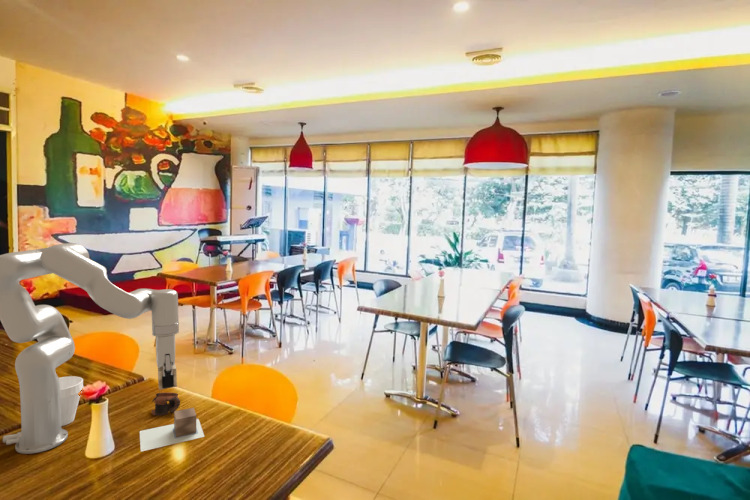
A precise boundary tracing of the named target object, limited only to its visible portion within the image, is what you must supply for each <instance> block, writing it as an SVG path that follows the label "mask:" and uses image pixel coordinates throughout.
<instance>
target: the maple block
mask: <svg viewBox="0 0 750 500" xmlns="http://www.w3.org/2000/svg"><path fill="white" fill-rule="evenodd" d="M170 365H171V364H170ZM164 366H166V365H164ZM162 367H163V366H162ZM162 367H160V368H158V367H157V377H158V378H157V379H158V380H157V381H158V390H166V389H171V388H177V386H178V381H177V376H178V375H177V367H176V363H175V364H174V365H173V366H172V368H173V375H174V386H173V387H169V388H162V376H163V368H162ZM165 369H166V368H165Z"/></svg>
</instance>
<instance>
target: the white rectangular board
mask: <svg viewBox="0 0 750 500" xmlns="http://www.w3.org/2000/svg"><path fill="white" fill-rule="evenodd" d="M204 437H205V434H204V431H203V427H202V424H201V422H200V420H199V418H196V433H193V434H189V435H185V436H180V437H176V434H175V429H174V423H172V424H166V425H161V426H158V427H152V428H147V429H143V430H140V431H139V444H140V452H144V451H149V450H153V449H154V450H155V449H158V448H162V447H163V448H164V447H165V446H171V445H175V444H178V443H183V442H188V441H192V440H196V439H200V438H204Z"/></svg>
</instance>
